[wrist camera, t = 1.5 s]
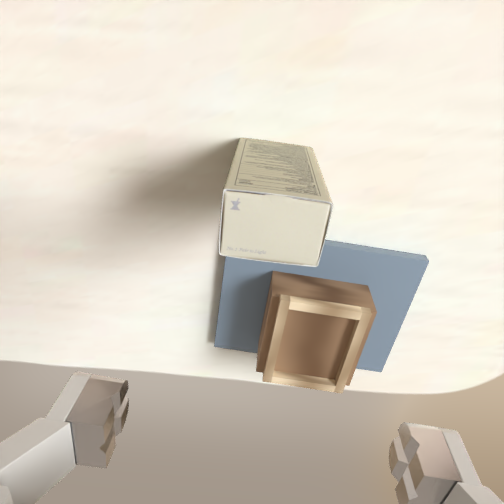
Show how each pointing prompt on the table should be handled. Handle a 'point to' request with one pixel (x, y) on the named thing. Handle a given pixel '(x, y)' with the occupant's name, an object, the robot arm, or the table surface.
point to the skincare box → (274, 204)
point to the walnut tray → (313, 331)
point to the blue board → (330, 267)
